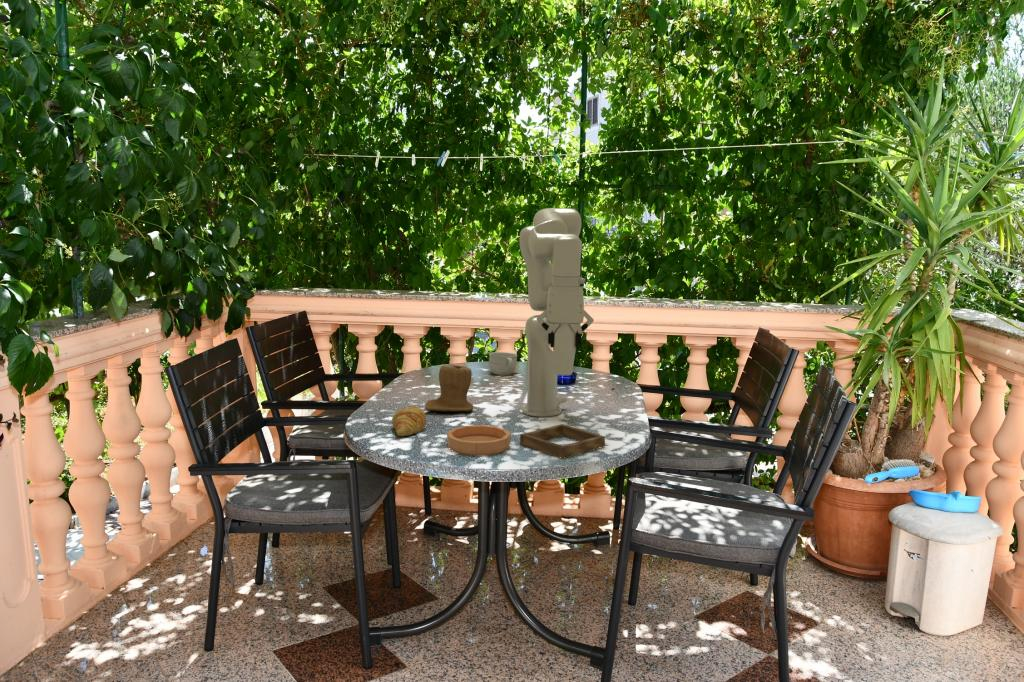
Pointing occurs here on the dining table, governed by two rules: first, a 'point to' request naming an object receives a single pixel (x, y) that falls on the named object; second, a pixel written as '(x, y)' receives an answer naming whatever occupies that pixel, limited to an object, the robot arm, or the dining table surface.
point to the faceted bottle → (564, 349)
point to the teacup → (502, 362)
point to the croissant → (409, 421)
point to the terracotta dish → (479, 440)
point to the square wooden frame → (539, 443)
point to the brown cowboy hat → (452, 390)
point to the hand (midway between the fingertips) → (564, 346)
